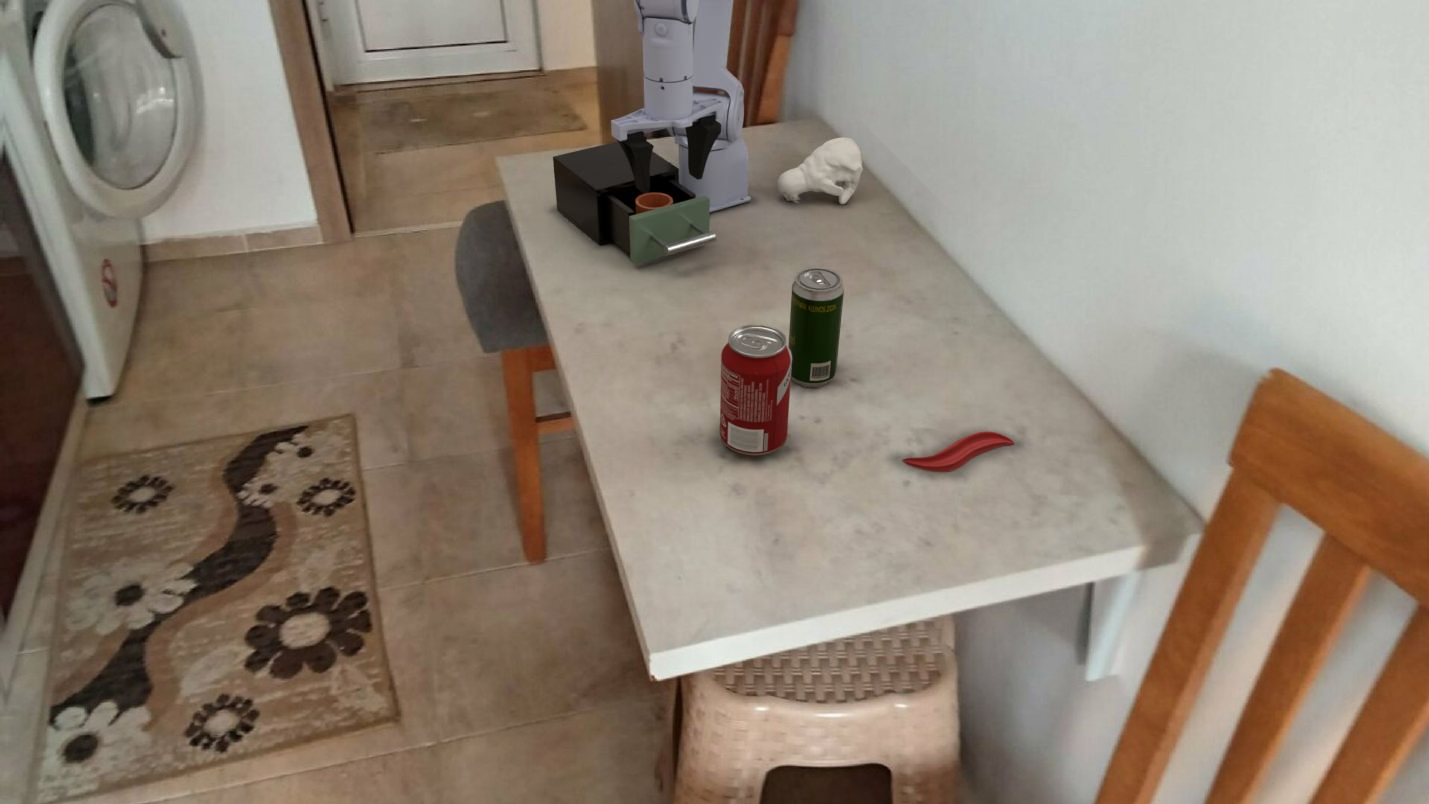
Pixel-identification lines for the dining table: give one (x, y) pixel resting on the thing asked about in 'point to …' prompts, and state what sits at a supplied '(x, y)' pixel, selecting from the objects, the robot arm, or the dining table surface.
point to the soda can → (755, 390)
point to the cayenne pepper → (960, 452)
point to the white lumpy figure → (825, 171)
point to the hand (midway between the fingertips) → (669, 183)
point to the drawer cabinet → (597, 183)
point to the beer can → (815, 326)
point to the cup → (652, 202)
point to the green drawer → (657, 221)
